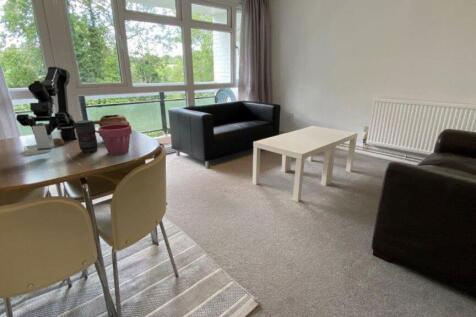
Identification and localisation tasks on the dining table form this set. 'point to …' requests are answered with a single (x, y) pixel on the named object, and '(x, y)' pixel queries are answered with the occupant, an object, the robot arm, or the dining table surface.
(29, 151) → the stand
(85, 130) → the camera lens
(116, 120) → the decorative planter
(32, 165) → the dining table surface
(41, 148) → the housing
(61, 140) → the walnut block
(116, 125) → the plant pot
